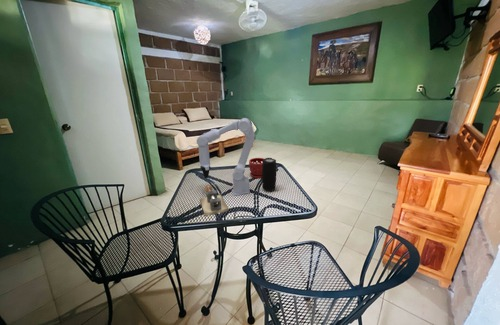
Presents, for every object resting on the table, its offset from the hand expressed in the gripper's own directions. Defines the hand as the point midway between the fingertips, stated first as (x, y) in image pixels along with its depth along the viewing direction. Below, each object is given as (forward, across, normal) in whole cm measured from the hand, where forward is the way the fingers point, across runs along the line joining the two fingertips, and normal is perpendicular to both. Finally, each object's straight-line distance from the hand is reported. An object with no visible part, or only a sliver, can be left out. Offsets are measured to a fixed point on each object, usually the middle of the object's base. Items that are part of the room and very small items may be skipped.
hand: (206, 177), depth 121 cm
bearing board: (+9, +18, 0) cm, 20 cm away
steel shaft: (+7, +14, 0) cm, 16 cm away
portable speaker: (+10, +12, +36) cm, 39 cm away
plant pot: (+10, -11, +39) cm, 42 cm away
